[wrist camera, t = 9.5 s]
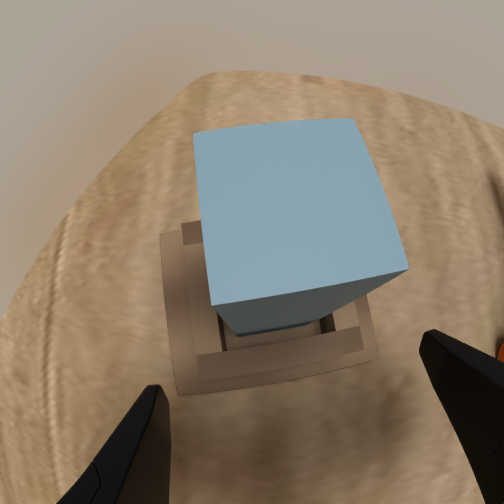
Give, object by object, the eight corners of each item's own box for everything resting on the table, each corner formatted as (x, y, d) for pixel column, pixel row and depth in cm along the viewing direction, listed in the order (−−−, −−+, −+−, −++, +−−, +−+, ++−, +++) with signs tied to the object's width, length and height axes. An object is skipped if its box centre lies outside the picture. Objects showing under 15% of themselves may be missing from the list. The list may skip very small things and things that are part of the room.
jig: (372, 358, 17) (401, 358, 13) (181, 393, 17) (163, 403, 13) (338, 213, 20) (356, 183, 17) (163, 239, 20) (145, 213, 16)
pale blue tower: (307, 325, 17) (409, 269, 6) (238, 337, 17) (211, 305, 5) (294, 259, 18) (353, 118, 7) (227, 270, 18) (193, 133, 7)
